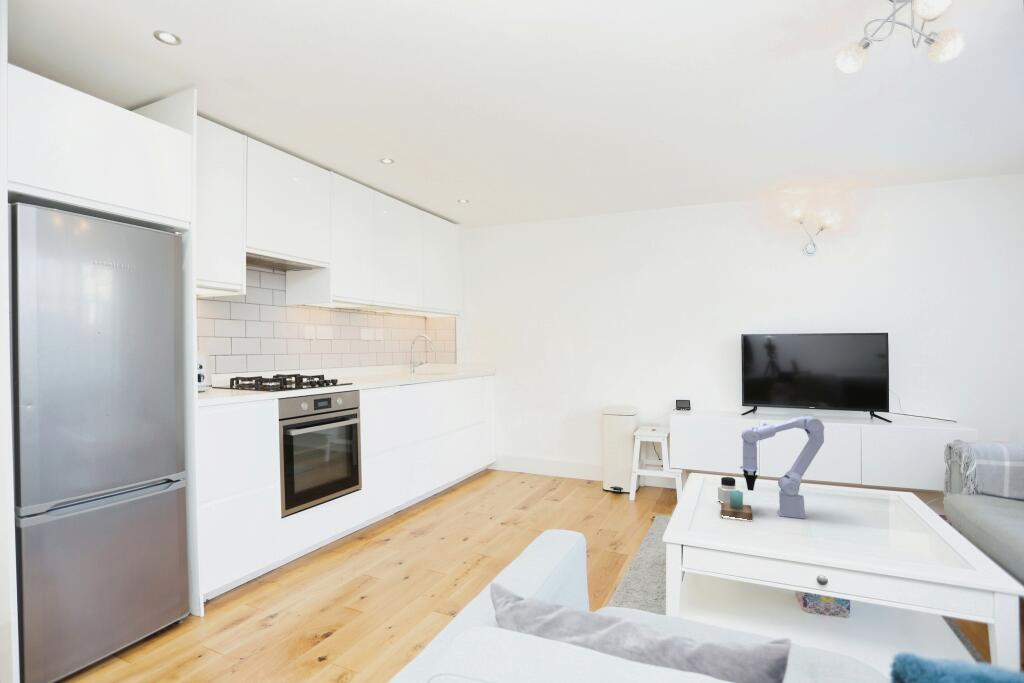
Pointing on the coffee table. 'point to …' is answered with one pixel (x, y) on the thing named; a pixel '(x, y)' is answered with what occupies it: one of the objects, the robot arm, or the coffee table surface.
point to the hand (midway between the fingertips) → (750, 488)
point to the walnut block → (737, 511)
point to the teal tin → (736, 499)
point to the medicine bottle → (726, 489)
